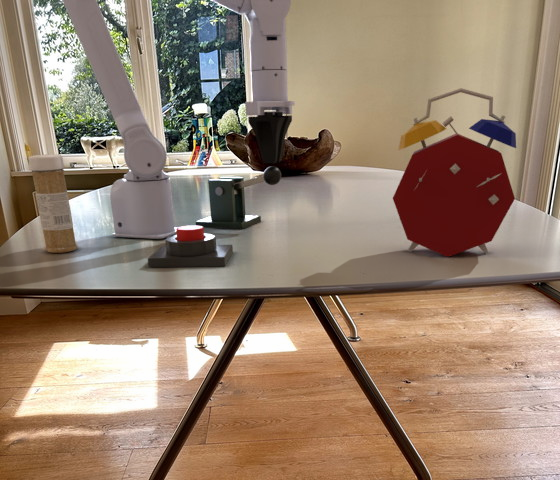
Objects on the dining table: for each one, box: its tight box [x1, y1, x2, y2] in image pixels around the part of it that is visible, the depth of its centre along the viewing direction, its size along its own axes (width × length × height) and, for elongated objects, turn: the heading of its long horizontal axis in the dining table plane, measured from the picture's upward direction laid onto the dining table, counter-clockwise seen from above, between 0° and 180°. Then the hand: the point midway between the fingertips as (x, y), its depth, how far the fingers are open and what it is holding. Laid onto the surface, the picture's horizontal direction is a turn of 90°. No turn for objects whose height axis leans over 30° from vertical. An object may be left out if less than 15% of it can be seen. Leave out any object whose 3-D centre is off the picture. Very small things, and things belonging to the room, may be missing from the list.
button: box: [175, 224, 205, 241], centre depth 79 cm, size 4×4×2 cm
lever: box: [234, 165, 282, 195], centre depth 102 cm, size 12×3×3 cm, turn 68°
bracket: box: [195, 176, 262, 230], centre depth 105 cm, size 9×8×8 cm
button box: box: [147, 233, 234, 268], centre depth 80 cm, size 10×8×3 cm
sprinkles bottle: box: [27, 153, 78, 254], centre depth 86 cm, size 5×5×14 cm
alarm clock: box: [392, 87, 517, 258], centre depth 75 cm, size 15×9×20 cm, turn 76°
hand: (271, 162), depth 99 cm, fingers closed
